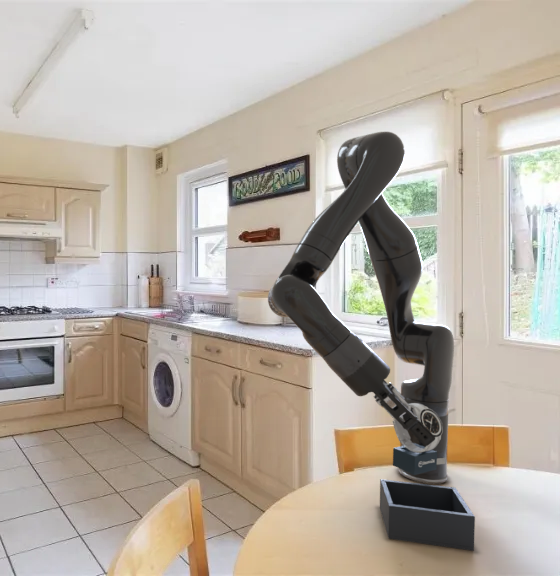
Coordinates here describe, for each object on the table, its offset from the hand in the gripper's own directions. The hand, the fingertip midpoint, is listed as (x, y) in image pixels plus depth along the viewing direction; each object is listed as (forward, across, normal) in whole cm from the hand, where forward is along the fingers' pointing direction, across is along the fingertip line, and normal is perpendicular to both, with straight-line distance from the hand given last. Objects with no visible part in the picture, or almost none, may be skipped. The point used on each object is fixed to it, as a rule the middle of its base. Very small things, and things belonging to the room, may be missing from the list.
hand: (425, 433), depth 82 cm
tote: (+12, 0, +12) cm, 17 cm away
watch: (+3, 0, +6) cm, 7 cm away
